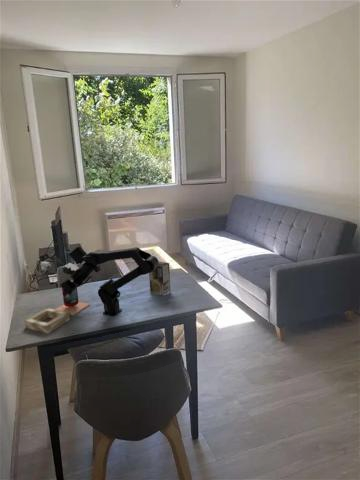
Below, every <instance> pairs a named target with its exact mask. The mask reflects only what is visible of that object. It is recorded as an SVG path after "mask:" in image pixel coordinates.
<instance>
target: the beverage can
mask: <svg viewBox="0 0 360 480" xmlns="http://www.w3.org/2000/svg"><path fill="white" fill-rule="evenodd" d="M72 279H73V278H71V279H69V280H70V281H71V282H73V280H72ZM64 281H65V280H63V281H62V282H64ZM75 284H76V283H75ZM61 290H62V291H61V292H62V299H63V304H64V305H65V306H67V307H73V306H76V305H77V304H78V303H79V302H80V301H79V294H78V287H77V286H76V290H75V291H74V292H73V293H71V294H67V295H63V291H64V289H63V288H62V287H61Z"/></svg>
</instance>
